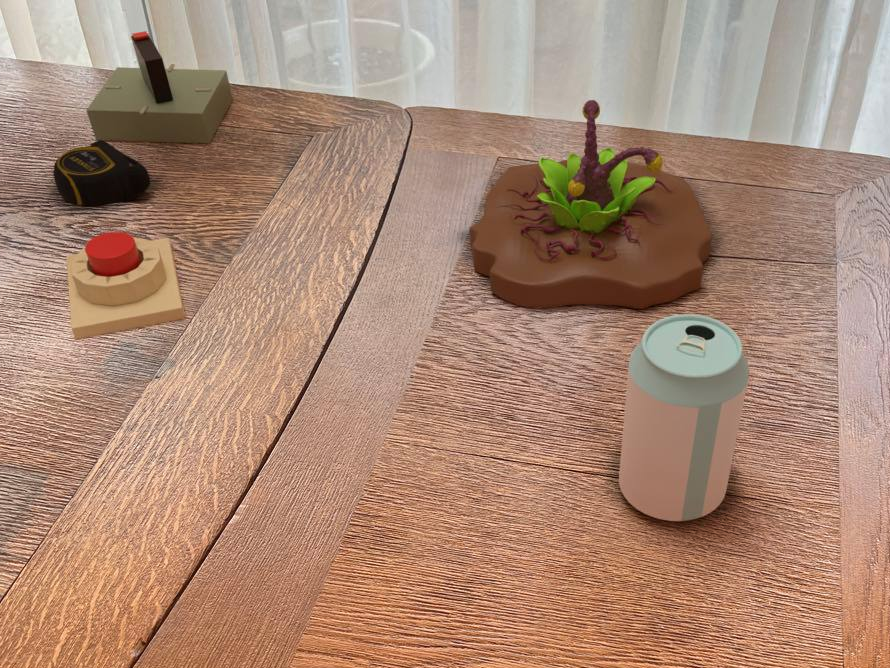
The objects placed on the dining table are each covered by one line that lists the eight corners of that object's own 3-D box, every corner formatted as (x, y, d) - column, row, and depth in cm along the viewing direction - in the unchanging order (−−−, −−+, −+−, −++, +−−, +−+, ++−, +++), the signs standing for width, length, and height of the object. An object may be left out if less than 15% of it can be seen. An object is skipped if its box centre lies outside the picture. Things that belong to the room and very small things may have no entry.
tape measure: (159, 198, 92) (147, 159, 89) (89, 228, 88) (74, 188, 86) (118, 170, 95) (106, 131, 92) (49, 198, 91) (34, 159, 89)
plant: (699, 183, 94) (715, 58, 85) (717, 313, 81) (738, 181, 72) (480, 179, 94) (474, 54, 86) (462, 307, 81) (454, 176, 73)
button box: (75, 278, 83) (58, 235, 80) (175, 260, 85) (162, 217, 82) (81, 352, 77) (62, 308, 74) (189, 331, 79) (176, 287, 76)
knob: (173, 100, 97) (161, 54, 94) (156, 103, 97) (143, 58, 94) (159, 74, 101) (147, 29, 98) (142, 77, 100) (129, 33, 97)
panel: (93, 143, 98) (82, 111, 96) (127, 94, 105) (118, 62, 102) (208, 147, 98) (199, 114, 95) (234, 97, 104) (227, 65, 102)
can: (606, 460, 70) (616, 314, 61) (704, 444, 71) (729, 299, 62) (635, 536, 65) (651, 391, 56) (740, 518, 66) (772, 372, 57)
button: (91, 256, 79) (83, 236, 78) (139, 247, 80) (132, 228, 79) (93, 282, 77) (86, 262, 76) (143, 273, 78) (136, 253, 76)
